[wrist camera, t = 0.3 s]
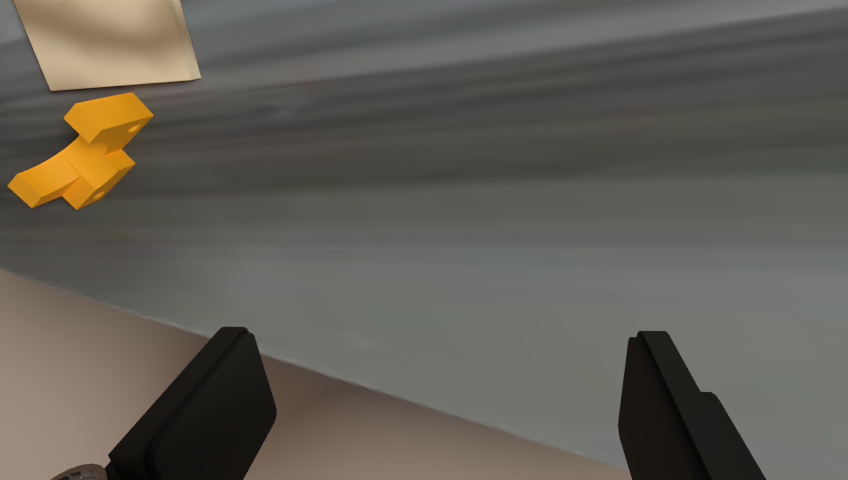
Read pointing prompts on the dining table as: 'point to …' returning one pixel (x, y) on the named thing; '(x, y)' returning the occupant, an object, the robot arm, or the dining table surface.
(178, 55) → the board
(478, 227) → the dining table surface
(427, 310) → the dining table surface
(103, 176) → the pipe clamp
